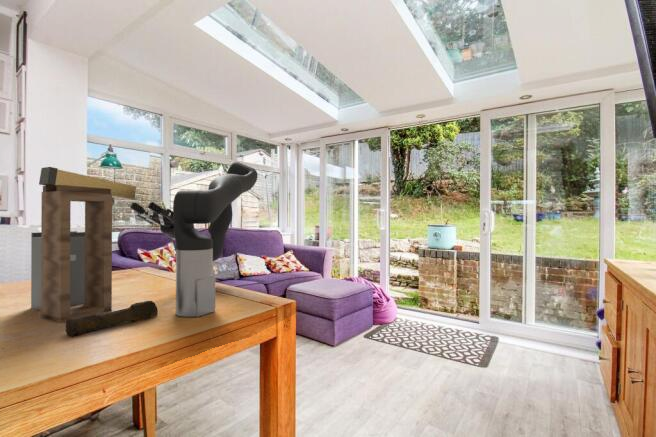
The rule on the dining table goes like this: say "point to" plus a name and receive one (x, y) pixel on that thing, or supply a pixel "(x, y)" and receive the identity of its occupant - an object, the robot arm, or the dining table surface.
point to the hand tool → (112, 318)
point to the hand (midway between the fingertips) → (140, 204)
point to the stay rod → (85, 182)
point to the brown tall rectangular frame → (58, 252)
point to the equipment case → (75, 269)
